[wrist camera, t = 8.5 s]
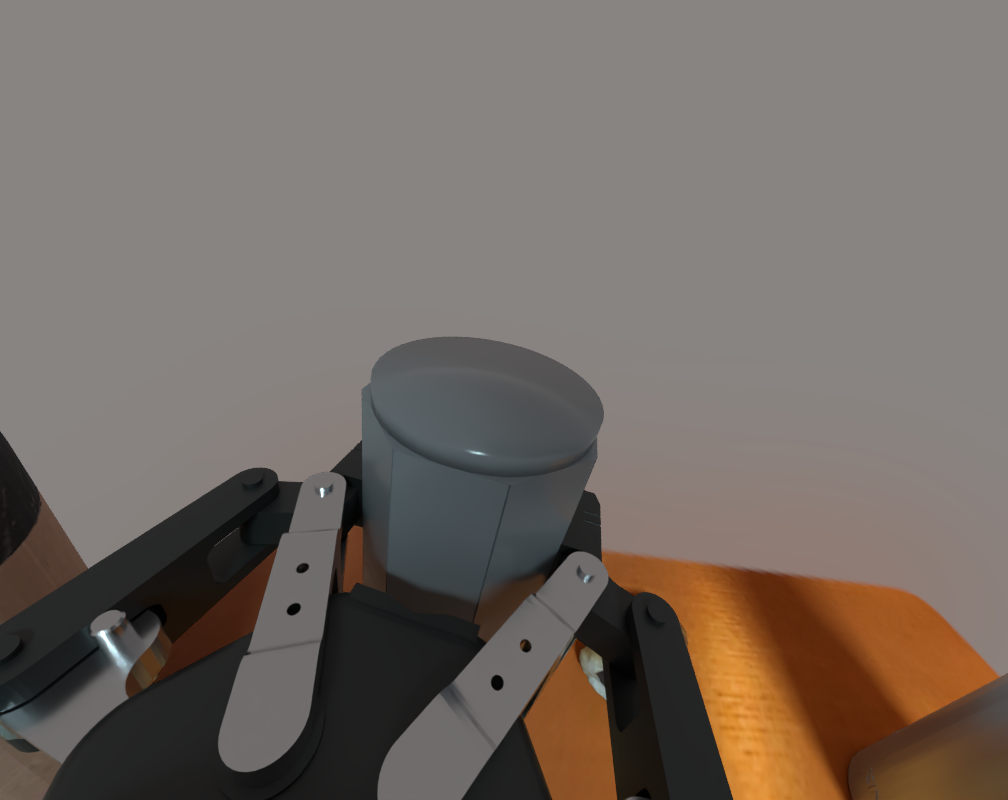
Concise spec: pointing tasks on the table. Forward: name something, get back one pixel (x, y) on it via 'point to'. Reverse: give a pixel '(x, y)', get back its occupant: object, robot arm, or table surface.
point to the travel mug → (28, 595)
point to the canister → (471, 474)
